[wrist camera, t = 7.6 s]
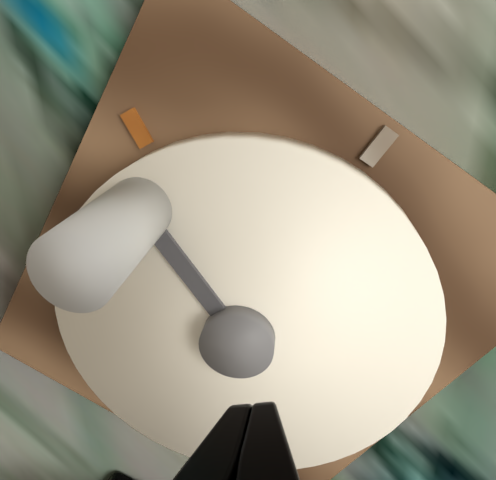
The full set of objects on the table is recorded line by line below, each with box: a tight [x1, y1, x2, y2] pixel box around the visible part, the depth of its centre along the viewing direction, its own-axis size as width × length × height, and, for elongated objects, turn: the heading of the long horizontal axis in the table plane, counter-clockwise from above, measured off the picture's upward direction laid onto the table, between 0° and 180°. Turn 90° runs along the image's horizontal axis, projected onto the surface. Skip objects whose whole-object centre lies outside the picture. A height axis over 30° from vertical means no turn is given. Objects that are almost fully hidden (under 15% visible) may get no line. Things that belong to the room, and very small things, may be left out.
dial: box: [26, 132, 446, 469], centre depth 16 cm, size 16×16×7 cm
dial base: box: [0, 0, 496, 480], centre depth 19 cm, size 20×19×2 cm
